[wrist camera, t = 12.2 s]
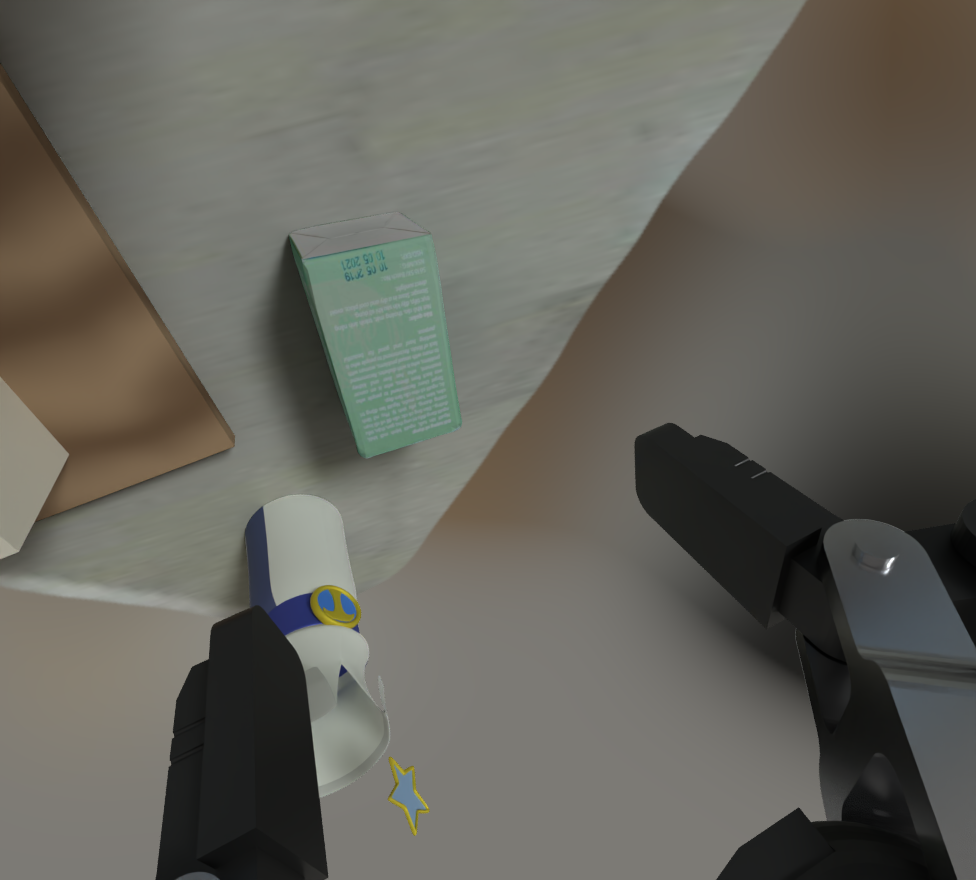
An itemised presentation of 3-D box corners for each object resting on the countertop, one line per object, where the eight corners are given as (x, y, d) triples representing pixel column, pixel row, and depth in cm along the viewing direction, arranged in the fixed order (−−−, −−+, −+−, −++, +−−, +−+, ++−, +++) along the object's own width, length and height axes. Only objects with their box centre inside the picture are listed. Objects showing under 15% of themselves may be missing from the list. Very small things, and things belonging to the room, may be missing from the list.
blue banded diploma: (268, 474, 39) (295, 837, 19) (364, 508, 44) (462, 821, 24) (217, 553, 40) (194, 959, 21) (315, 576, 45) (370, 921, 26)
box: (344, 416, 39) (363, 468, 33) (284, 231, 31) (295, 256, 25) (434, 389, 41) (467, 433, 35) (399, 209, 33) (433, 227, 27)
